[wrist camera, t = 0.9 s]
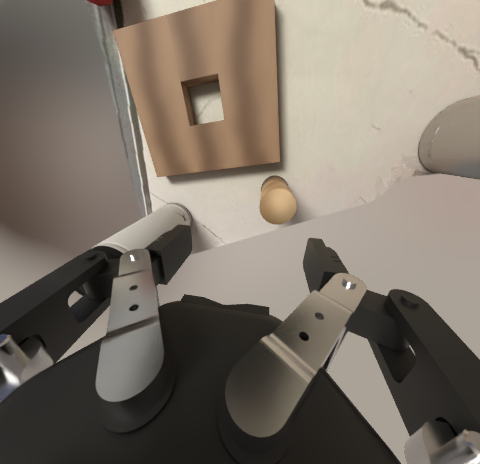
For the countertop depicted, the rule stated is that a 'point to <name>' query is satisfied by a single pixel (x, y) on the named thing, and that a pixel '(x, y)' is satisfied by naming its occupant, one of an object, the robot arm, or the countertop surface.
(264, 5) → the walnut board
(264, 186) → the oak peg
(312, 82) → the countertop surface
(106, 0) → the red egg-shaped piece
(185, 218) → the travel mug
